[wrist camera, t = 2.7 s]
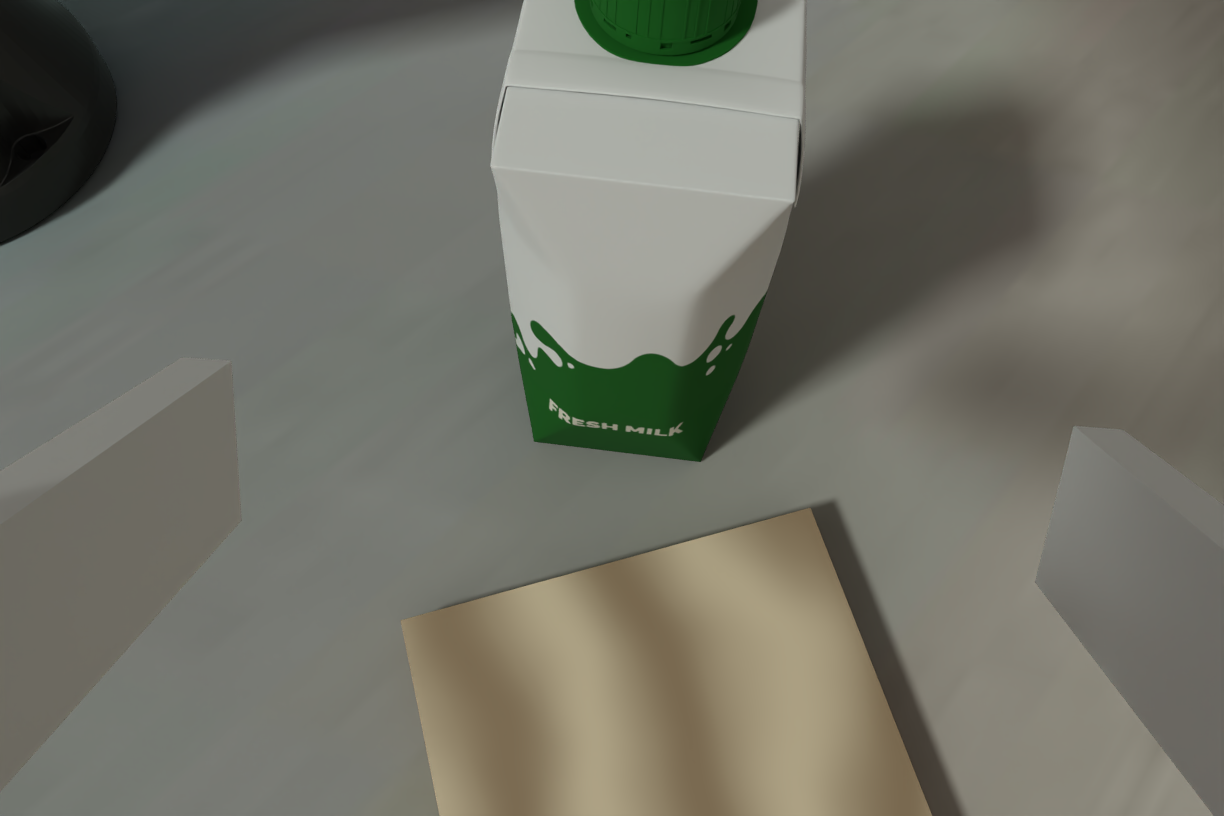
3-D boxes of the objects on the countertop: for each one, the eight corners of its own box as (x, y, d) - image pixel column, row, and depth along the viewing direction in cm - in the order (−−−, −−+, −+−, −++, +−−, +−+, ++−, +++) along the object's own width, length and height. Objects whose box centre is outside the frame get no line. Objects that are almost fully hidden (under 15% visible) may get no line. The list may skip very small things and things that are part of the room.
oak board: (507, 1125, 30) (504, 1138, 29) (407, 629, 36) (400, 620, 35) (973, 959, 32) (990, 963, 31) (802, 519, 39) (810, 507, 37)
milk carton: (735, 300, 43) (848, -107, 25) (720, 489, 39) (842, 171, 21) (539, 277, 43) (512, -144, 25) (506, 463, 39) (445, 126, 21)
